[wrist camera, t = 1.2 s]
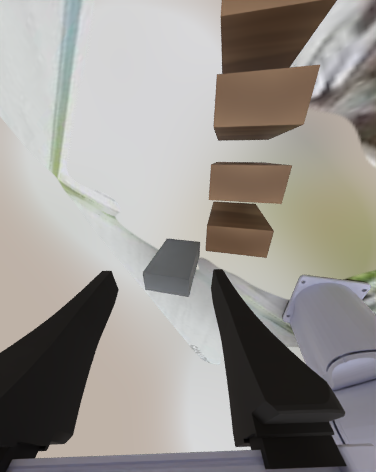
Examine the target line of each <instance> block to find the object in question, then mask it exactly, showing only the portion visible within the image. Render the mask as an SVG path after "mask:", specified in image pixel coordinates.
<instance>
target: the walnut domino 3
mask: <svg viewBox="0 0 376 472" xmlns="http://www.w3.org/2000/svg"><path fill="white" fill-rule="evenodd" d="M291 168H292V166H291V165H281V164H271V163H254V162H249V163H248V162H247V163H246V162H216V163H214V164H212V165H211V174H210V190H209V200H222V201H239V202H258V203H277V204H281V203H282V200H283V196H284V193H285V189H286V186H287V182H288V179H289V175H290V171H291Z"/></svg>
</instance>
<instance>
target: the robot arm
mask: <svg viewBox="0 0 376 472" xmlns="http://www.w3.org/2000/svg"><path fill="white" fill-rule="evenodd" d="M302 281H303V282H302ZM370 288H371V285H369V284H368V283H365V282H357V281H349V280H341V279H333V278H326V277H317V276H310V275H302V276H300V277H299V279H298V282H297V284H296V287H295V289H294V291H293V294H292V296H291V299H290V301H289V303H288V306H287V308H286V310H285V313H284V315H283V317H282V319H283V321H284V322H288V323H290V325H291V327H292V330H293V333H294V335H295V338H296V340H297V343H298V345H299V348H300V350H301V353H302V355H303V358H304V360H305V362H306V364H307V365H306V364H305V363H304V362H302V361H301V360H300V359H299V358H298V357H297V356H296V355H295V354H294V353H292V352H291V351H290V350H289V349H288V348H287V347H286V346H285V345H284V344H283V343H282V342H281V341H280V340H279V339H278V338H277V337H276V336H275V335H274V334H273V333H272V332H271V331H270V330H269V329H268V328H267V327H266V326H265V325H264V324H263V323H262V322H261V321H260V320H259V319H258V317H257V316H256V315H255V314H254V313H253V312H252V310H251V309H250V308H249V307H248V306H247V304H246V303H245V302H244V300H243V299H242V298H241V296H240V295H239V294H238V292H237V291H236V290H235V288H234V287H233V285H232V284H231V282H230V281H229V279H228V277H227V276H226V274H225V272H224V271H223V270H222V269H214V271H213V278H212V285H211V291H212V300H213V305H214V310H215V314H216V318H217V323H218V327H219V331H220V336H221V341H222V347H223V354H224V361H225V368H226V376H227V384H228V391H229V399H230V408H231V417H232V427H233V435H234V441H235V446H236V447H247V446H251V450H243V451H217V452H190V453H165V454H142V455H141V454H140V455H113V456H87V457H61V458H35V457H36V455H37V453H38V451H46V450H47V449H48V447H49V445H50V444H65V443H66V442H67V441H68V440H69V439H70V438H71V437H72V435H73V433H74V428H75V424H76V420H77V415H78V411H79V407H80V403H81V399H82V396H83V392H84V388H85V385H86V381H87V378H88V374H89V370H90V367H91V364H92V361H93V358H94V354H95V351H96V348H97V345H98V343H99V340H100V337H101V335H102V333H103V330H104V328H105V326H106V323H107V321H108V318H109V316H110V314H111V311H112V309H113V306H114V304H115V300H116V297H117V293H118V287H117V285H116V282H115V279H114V277H113V274H112V271H102V272H101V273H100V274H99V275H98V276H97V277H95V278H94V280H92V281H91V282H90V283H89V284H88V285H87V286H86V287H85V288H84V289H83V290H82V291H81V292H79V293H78V294H77V295H76V296H75V297H74V298H73V299H72V300H70V301H69V302H68V303H67V304H66V305H65V306H64V307H62V308H61V309H60V310H59V311H58V312H56V313H55V314H54V315H53V316H52V317H50V318H49V319H48V320H46V321H45V322H44V323H42V324H41V325H40V326H38V327H37V328H36V329H34V330H33V331H32V332H30V333H29V334H27V335H26V336H24V337H23V338H22V339H20V340H19V341H17V342H16V343H14V344H13V345H11V346H10V347H8V348H7V349H6V350H4V351H2V352H1V353H0V472H376V314H375V313H374V312H373V311H372V310H371V309H370V308H369V307H368V306H367V305H366V304H365V303H364V302H363V301H362V299H363V298H364V297H365V295H366V294H367V292H368V291H369V290H370ZM362 289H363V290H362Z"/></svg>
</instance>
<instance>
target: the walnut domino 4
mask: <svg viewBox="0 0 376 472" xmlns="http://www.w3.org/2000/svg"><path fill="white" fill-rule="evenodd" d="M273 232H274V231H273V229H272V228H271V226H270V225H269V223H268V222H267V220H266V219H265V217H264V216H263V214H262V213H261V211H260V210H259V209H258V207H257V206H256V204H247V203H229V202H213V206H212V210H211V213H210V217H209V221H208V224H207V237H206V251H212V252H221V253H230V254H238V255H247V256H256V257H265V258H266V257H267V254H268V251H269V246H270V243H271V239H272V236H273Z"/></svg>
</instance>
